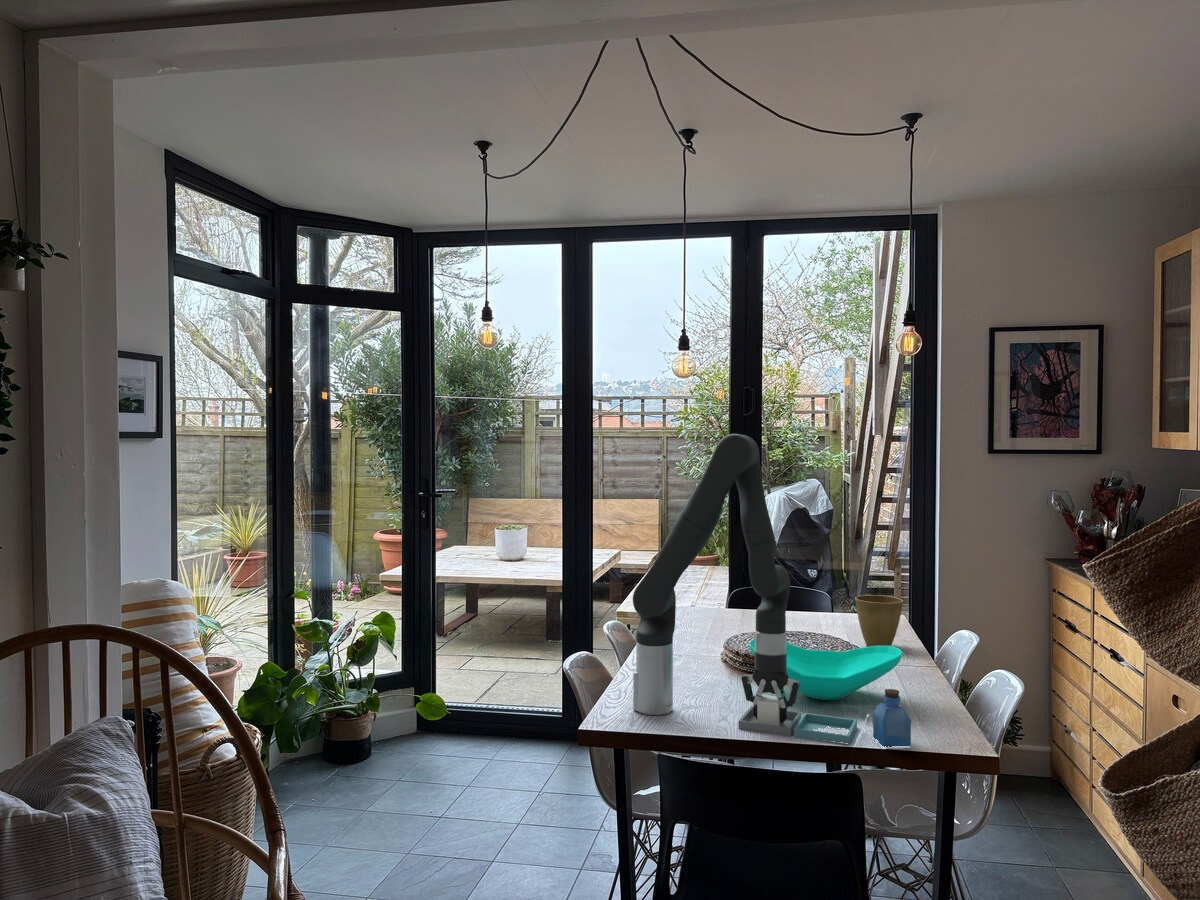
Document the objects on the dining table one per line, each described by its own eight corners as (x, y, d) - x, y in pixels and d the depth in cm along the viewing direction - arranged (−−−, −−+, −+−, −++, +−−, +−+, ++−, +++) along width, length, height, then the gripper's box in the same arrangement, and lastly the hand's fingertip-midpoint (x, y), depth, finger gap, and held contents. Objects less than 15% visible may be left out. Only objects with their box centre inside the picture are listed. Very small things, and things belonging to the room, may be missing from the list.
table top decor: (743, 706, 218) (743, 655, 217) (752, 676, 244) (752, 630, 244) (907, 719, 207) (908, 665, 207) (898, 687, 234) (898, 639, 234)
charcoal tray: (738, 730, 200) (738, 720, 200) (751, 715, 211) (751, 705, 211) (790, 738, 195) (790, 728, 195) (801, 722, 206) (801, 712, 206)
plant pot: (909, 653, 271) (909, 603, 271) (862, 652, 271) (862, 603, 271) (894, 641, 286) (894, 594, 285) (849, 641, 286) (849, 594, 286)
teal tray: (794, 739, 194) (794, 728, 194) (804, 722, 205) (804, 712, 205) (849, 747, 189) (849, 736, 189) (856, 729, 200) (856, 719, 200)
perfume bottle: (899, 739, 194) (900, 686, 194) (910, 749, 188) (911, 695, 188) (873, 739, 194) (873, 687, 194) (883, 749, 188) (883, 695, 188)
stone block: (757, 725, 201) (757, 700, 201) (762, 719, 206) (762, 694, 206) (778, 728, 199) (778, 703, 199) (783, 722, 204) (783, 697, 204)
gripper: (736, 650, 202) (736, 721, 202) (797, 656, 196) (797, 730, 196) (745, 643, 209) (745, 712, 209) (804, 649, 203) (803, 720, 203)
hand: (770, 720), depth 203 cm, fingers closed on stone block, 5 cm apart
